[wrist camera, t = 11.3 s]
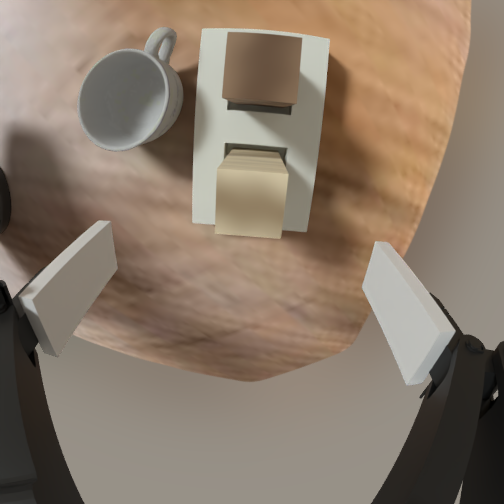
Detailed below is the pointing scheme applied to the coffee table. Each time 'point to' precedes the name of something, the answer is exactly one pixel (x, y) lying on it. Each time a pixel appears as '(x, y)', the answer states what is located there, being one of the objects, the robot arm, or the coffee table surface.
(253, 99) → the walnut pin
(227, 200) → the pin
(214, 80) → the bore block
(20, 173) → the coffee table surface
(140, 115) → the teacup
